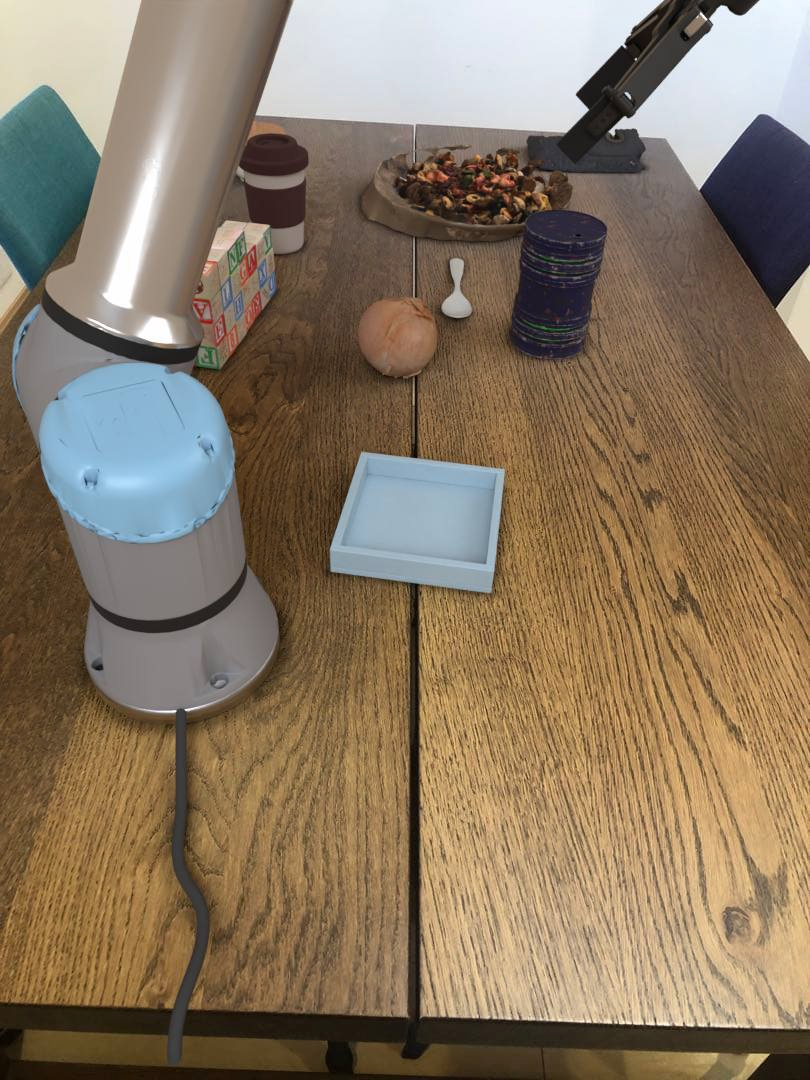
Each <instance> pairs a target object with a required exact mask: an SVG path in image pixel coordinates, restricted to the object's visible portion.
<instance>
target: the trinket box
mask: <svg viewBox="0 0 810 1080" xmlns="http://www.w3.org/2000/svg"><path fill="white" fill-rule="evenodd" d="M266 133H277V134H285V135H287V131H286V130H285V128H284V127H282V126H281V125H278V124H277V123H273V122H267V121H257V120H256V119H254V121H253V124H252V127H251V130H250V133H249V136H248V139H247V141H248V140H249V139H250V138H251V137H253V136H256V135H259V134H266ZM246 145H247V142H246ZM246 145H245V146H246ZM235 176H237V177H239V178H240V181H241V182H243V183H244V171H243V169H241V168H240V167H239V166H238V169H237V172H236V175H235Z"/></svg>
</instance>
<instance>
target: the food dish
mask: <svg viewBox="0 0 810 1080" xmlns="http://www.w3.org/2000/svg"><path fill="white" fill-rule="evenodd" d="M470 148H471V149H472V148H473V145H472V144H470V143H469V144H467V143H465V144H464V145H463V144H457V145H456V144H455V145H446V146H444V147H437V146H433V147H424V148H420V149H419V148H418V149H415V150H413V152H414V153H417V152H429V153H431V154H430V155H428V156H427V157H426V158H425V159H424V161H423V162H421V161H416V162H413V163H412V165H411V166H409V165H408V163H407V155H410V151H407V152H405V151H404V152H402V153H398V154H395V155H393V156H391V157H390V158H389V159H383V160H381V161H380V162H379V164H378V166H377V169H376V171H375V172H374V175H373V177H372V179H371V181H370V184H369V186H368V187H367V189H366V191H365V193H363V195H362V196H361V200H362V201H361V210H362V211H363V213H364V215H365V216H366V217H367V220H370V221H373V222H377V223H379V224H382V225H384V226H387V227H388V228H390V229H392V230H395V231H397V232H401V233H403V234H406V235H409V236H412V237H416V238H426V237H427V238H430V239H434V240H438V241H448V240H452V241H455V240H456V241H462V242H463V241H466V242H470V243H471V242H475V241H476V242H481V241H483V242H497V241H501V240H507V239H510V238H513V237H516V236H523V235H524V232H525V230H524V228H525V221H526V219H527V217H528V216H530V215H531V214H533V213H536V212H539V211H544V210H557V209H559V210H565V209H566V208H567V206H568V205H569V204H570V202H571V201H572V198H573V195H574V192H573V189H574V186H573V184H570V183H569V176H568V173H564V172H561V171H557V170H555V171H552V173H551V174H549V180H548V185H547V183H546V180H545V178H544V177H543V176H540V175H537V176H534V171H536V169H537V168H539V167H538V166H541V165H544V164H546V162H545V160H543V159H535V160H533V159H531V160H528V161H527V165H526V166H523V167H521V168H520V170H519V169H518V168H519V165H520V164H519V163H520V162H519V159H518V158H519V157H521V156H522V154H523V152H522V151H521V150H517V149H514V148H507V147H502V148H498V150H496V151H495V156H494V155H493V154H492V153H491V152H490V153H488V154H486V156H485V157H483V158H482V157H481V156H480V154H475V155H474V156H473V157H467V158H465V159H464V160H463V161H462V162H461V164H457V162H454V161H455V157H456V156H455V154H454V153H453V151H456V150H460V151H461V150H467V149H470ZM443 149H444V150H449V151H444V152H441V153H439V154H438V152H439V151H440V150H443ZM451 151H452V152H451ZM437 154H438V155H437ZM504 156H505V162H504V161H503V157H504Z"/></svg>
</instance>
